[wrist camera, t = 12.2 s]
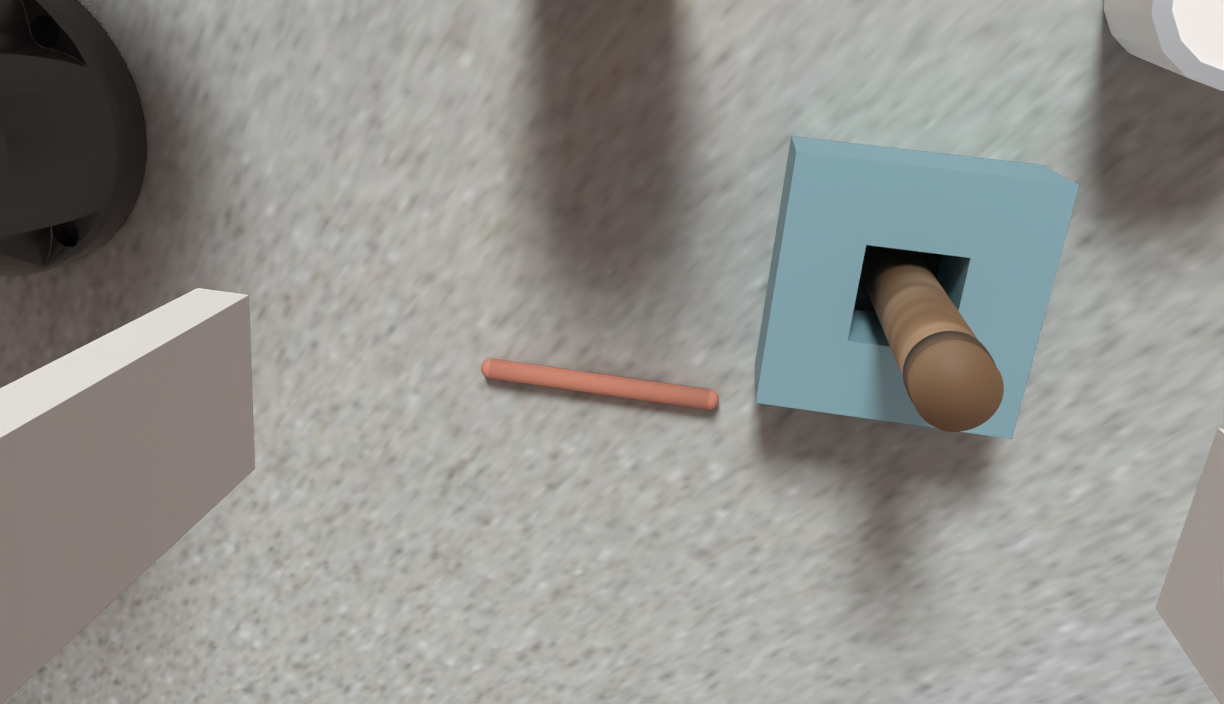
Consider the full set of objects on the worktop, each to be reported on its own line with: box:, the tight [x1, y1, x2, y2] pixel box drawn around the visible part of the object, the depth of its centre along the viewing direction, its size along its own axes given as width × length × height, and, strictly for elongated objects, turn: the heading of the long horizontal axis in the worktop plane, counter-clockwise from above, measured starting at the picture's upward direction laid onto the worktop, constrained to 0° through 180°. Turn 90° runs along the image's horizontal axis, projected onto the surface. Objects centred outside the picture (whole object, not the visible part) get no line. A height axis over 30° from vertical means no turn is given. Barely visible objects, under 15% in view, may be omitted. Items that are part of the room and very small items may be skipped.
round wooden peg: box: [862, 246, 1004, 432], centre depth 38 cm, size 3×3×15 cm
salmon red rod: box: [481, 359, 719, 410], centre depth 48 cm, size 12×1×1 cm, turn 84°
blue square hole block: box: [755, 136, 1079, 439], centre depth 43 cm, size 11×11×5 cm
